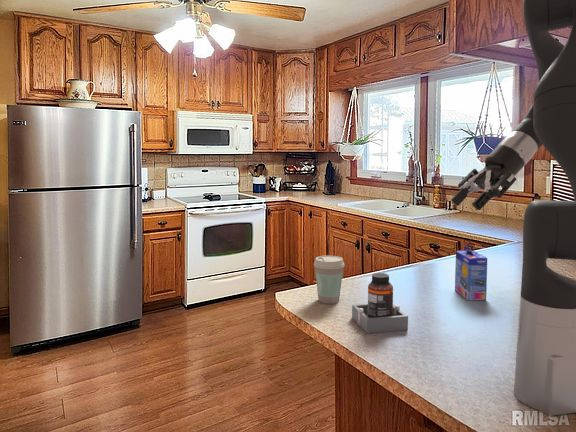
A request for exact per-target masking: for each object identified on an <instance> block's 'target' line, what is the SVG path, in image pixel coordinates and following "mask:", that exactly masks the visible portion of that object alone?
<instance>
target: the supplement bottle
mask: <svg viewBox="0 0 576 432" xmlns="http://www.w3.org/2000/svg"><path fill="white" fill-rule="evenodd" d="M367 304H368V318H376V317H388V316H393V305H394V286H393V284H392V283H391V282H390V274H388V273H385V272H375V273H372V274H371V282H369V283H368V285H367Z"/></svg>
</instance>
